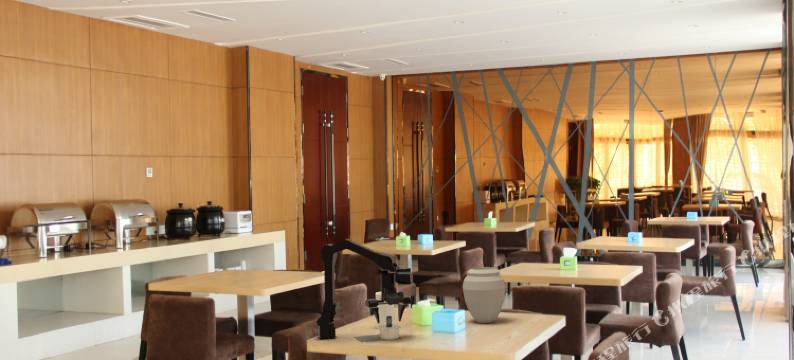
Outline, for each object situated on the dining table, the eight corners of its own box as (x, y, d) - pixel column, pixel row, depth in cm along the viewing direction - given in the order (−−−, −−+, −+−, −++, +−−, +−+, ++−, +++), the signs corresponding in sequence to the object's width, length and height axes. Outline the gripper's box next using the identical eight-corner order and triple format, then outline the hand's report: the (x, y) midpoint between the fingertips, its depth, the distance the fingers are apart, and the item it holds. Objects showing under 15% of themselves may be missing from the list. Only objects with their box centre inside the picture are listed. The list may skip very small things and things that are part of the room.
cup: (393, 330, 356) (391, 293, 356) (375, 330, 357) (373, 293, 358) (397, 326, 364) (395, 291, 364) (379, 326, 366) (377, 291, 366)
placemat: (362, 343, 328) (362, 342, 328) (353, 337, 341) (353, 337, 341) (402, 339, 333) (402, 338, 333) (391, 334, 347) (391, 333, 347)
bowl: (384, 340, 331) (383, 329, 331) (378, 337, 338) (377, 326, 338) (401, 338, 334) (401, 327, 334) (395, 335, 341) (395, 325, 341)
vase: (513, 319, 371) (511, 266, 371) (495, 326, 355) (493, 271, 355) (475, 317, 382) (473, 265, 382) (456, 324, 365) (454, 270, 365)
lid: (383, 329, 331) (383, 318, 331) (377, 326, 338) (377, 315, 338) (400, 327, 334) (400, 316, 334) (394, 325, 341) (394, 314, 341)
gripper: (372, 288, 325) (373, 327, 325) (415, 285, 332) (417, 323, 331) (364, 285, 336) (365, 323, 336) (406, 282, 342) (407, 319, 342)
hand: (389, 322), depth 336 cm, fingers open, 9 cm apart
